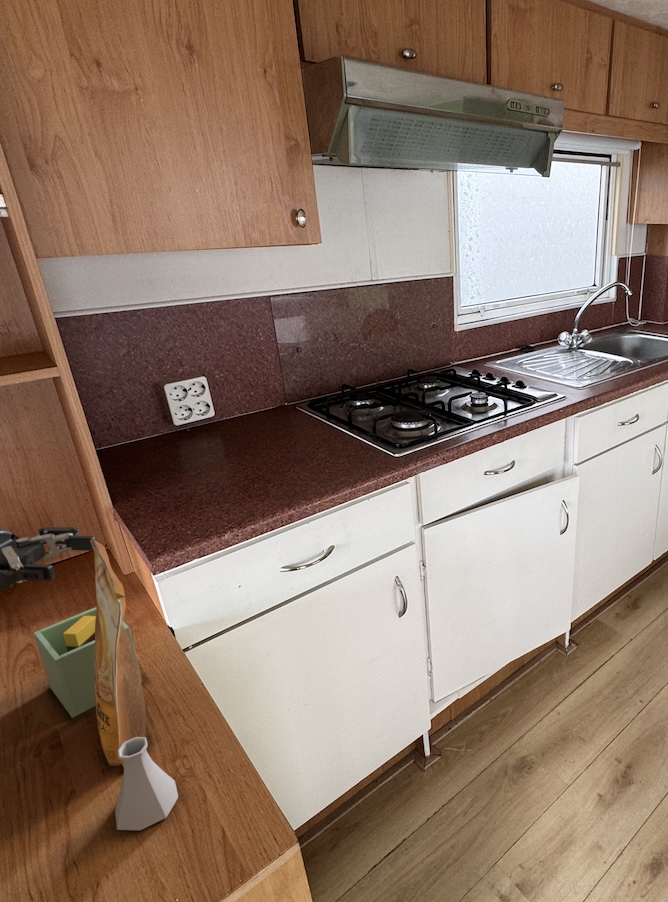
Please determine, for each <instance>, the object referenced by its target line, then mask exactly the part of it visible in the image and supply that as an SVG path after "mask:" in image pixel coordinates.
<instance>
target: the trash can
mask: <svg viewBox="0 0 668 902" xmlns="http://www.w3.org/2000/svg"><path fill="white" fill-rule="evenodd" d="M83 616H96V606H95V607H93V608H90V609H88V610H86V611H83V612H81V613H78V614H76V615H73V616H71V617H69V618H66V619H63V620H60V621H59V622H56V623H54V624H52V625H49V626H45V627H43V628H42V629H39V630H37V631H34V632H33V635H34V639H35V643H36V645H37V648H38V653H39V655H40V658H41V662H42V665H43V668H44V672H45V675H46V678H47V681H48V685H49V688H50V689H51V691H52V692H53V693H54V695H55V696H56V698H57V699H58V701H59V702H60V703H61V705H62V706H63V707H64V709H65V710H66V711H67V713H68V715H70V717H71V718H72V719H73V718H75V717H77V716H79V715H81V714H83V713H85V712H88V710H89V711H90V710H91V709H92V708H95V640H94V641H92V642H90V643H87V644H85V645H83V646H81V647H78V648H76V649H74V650H72V651H69V652H67V648H66V643H65V639H64V636H63V633H64V632H65V631H67V630H68V629H69V628H70V627H71V626H72V625H74V624H75V623H76V622H77V621H78V620H80V619H81V618H82V617H83ZM122 625H123V627H124V629H125V631H126V633H127V635H128V638H129V640H130V643H131V646H132V649H133V653H134V656H135V660H136V663H137V666H138V670H139V674H140V679H141V683H142V682H143V679H142V675H141V670H140V666H139V662H138V658H137V654H136V648H135V645H134V641H133V637H132V632H131V628H130V626H129V625H128V624H126V623H125V621H124V620H123V621H122Z"/></svg>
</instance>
